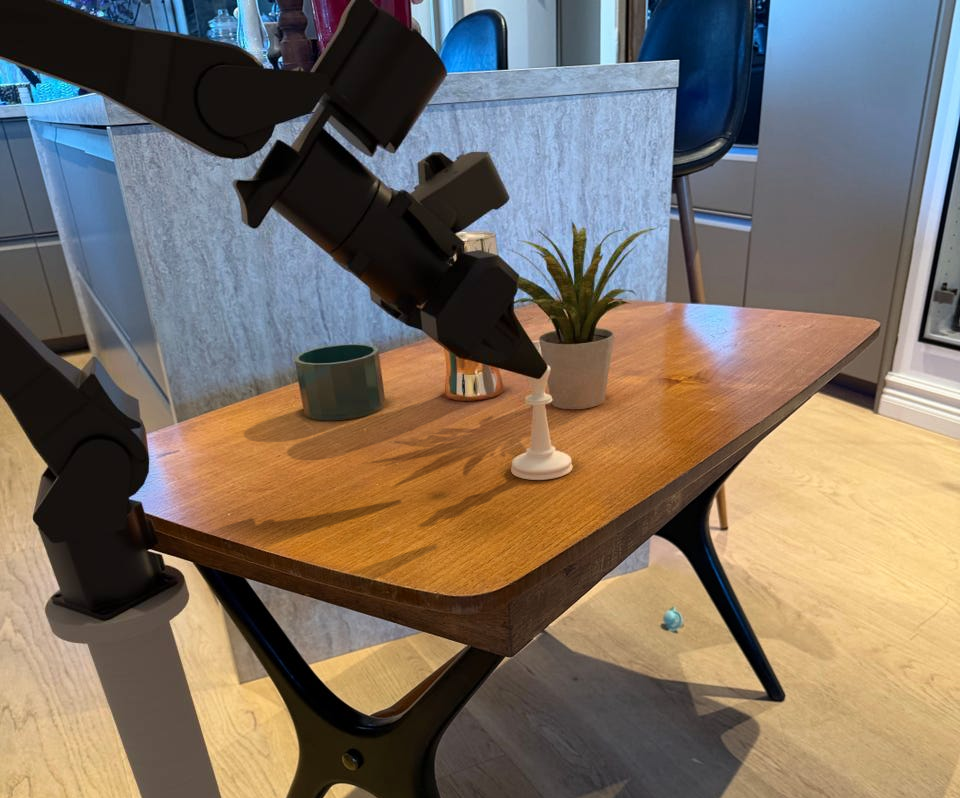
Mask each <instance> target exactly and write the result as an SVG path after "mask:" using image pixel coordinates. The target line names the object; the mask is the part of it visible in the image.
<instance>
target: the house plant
mask: <svg viewBox="0 0 960 798" xmlns="http://www.w3.org/2000/svg"><path fill="white" fill-rule="evenodd" d="M534 229H535V230H537V232H538V233H540V235H542V236H543V237H544V238H545V239H546V240H547V241H548V242H549V244H551V246H552V247H553V249H554V250H555V252H556V253H557V255H558V257H559V260H561V263H562V265H563V266H562V265H561V263H560V262H559V260H558V259H557V257H556V256H555V255H554V254H553V253H552V252H551V251H550V250H549V249H547V248H545V247H544V246H541V245H538V244H536V243H535V242H534V243H533V242H530V241H527V240H519V239H517V241H519V242H521V243H524V244H527V245H530V246H531V247H533V248H535V249H536V250H538V251H539V252H538V251H534V250H530V252H532V253H536V254H538V255H539V256H541V258H542V259H543V261H545V266H546V270H547V272H548V273H549V275H550V277H551V279H552V280H553V281H554V283H555V285H556V288H557V289H558V291H559V294H560V296H559V295H558V293H557V292H556V290H555V288H554V286H553V285H552V283H551V282H550V280H549V279H548V278H547V277H546V275H545V274H544V273H543V272H542V270H540V269H539V267H537V266H536V265H535V264H534V263H533V262H532V261H530V260H529V259H528V258H527V257H526V256H524V255H523V254H521V253H519V252H517V251H515V250H512V249H509V248H506V250H508V251H511V252H513V253H516V254H518V256H520V257H522V258H524V259H525V260H526V261H528V262H529V263H530V264H531V265H532V266H533V267H534V268H535V269H536V270H537V271H538V273H540V274H541V275H542V276H543V277H544V279H545V280H546V282H547V283H548V284H549V286H550V287H551V289H552V290H553V292H554V294H555V295H556V297H557V300H556V299H555V298H554V297H553V296H552V295H551V294H550V293H549V292H548V291H547V290H546V289H545V288H543V287H542V286H541V285H539V284H536V283H535V282H533V281H532V280H531V281H530V280H529V279H527V278H524V277H523V276H520V275H519V279H518V290H520V291H522V292H523V293H525V294H527V295H528V296H530V297H531V298H527V297H524V298H519V299H517V300H514V305H516V304H517V306H520V304H522V303H523V304H524V303H528V302H530V303H534V304H536V305H537V306H538V308H539V309H540V310H541V311H543V312H544V313H545V314H546V316H547V317H548V320H547V322H549V321H551V323H552V326H553V328H554V330H551V331H549V332H545V333H543V334H541V335H540V336H539V337H538V341H539V343H540V347H541V356H542V358H543V360H544V361H545V363H546V364H547V365H548V366H550V368H551V370H550V375H549V377H548V381H547V388H548V392H549V393H548V394H549V395H551V396H552V399H553V400H552V402H550V404H551V406H553V407H555V408H557V409H561V410H583V409H590V408H593V407H597V406H599V405H602V404H603V403H604V402H605V399H606V394H607V386H608V381H609V373H610V366H611V360H612V353H613V348H614V341H615V340H614V339H615V333H614V332H613V331H612V330H610V329H606V328H600V327H597V325H598V322H599V321H600V320H601V318H602V317H603V316H604V315H605V314H607V313H608V312H609V311H611V310H613V309H615V308H617V307H621V306H622V305H627V304H628V305H632V303H630V302H628V301H625V300H624V299H623V298H615V297H617V296H619V295H621V294H622V293H625V292H630V293H633V295H635V296H636V297H638V295H637V293H636V292H635V291H634V290H633V289H623V288H615V289H611V290H610V291H609V292H607V293H606V294H605V295H604V296H603V297H602V298H601V295H602V294H603V292H604V290H605V288H606V286H607V283H608V282H609V281H610V278H611V277H612V276H613V274H614V273H615V272H616V271H617V270H618V268H619V266H620V265H621V264H622V263H623V261H624V260H625V259H626V257H627V256H628V255H629V254H630V253H631V252H632V251H634V249H635V248H636V247H637V245H638V244H636V245H635V246H633V247H632V248H631V249H630V250H628V251H627V253H625V254H624V255H623V256H622V257H621V258H620V260H618V259H619V257H620V256H621V255H622V253H623V252H624V251H625V250H626V248H627V247H629V245H631V244H632V243H633V241H635V240H636V239H637V238H638V237H639V236H641V235H643V234H645V233H649V232H651V231H654V230H656V229H658V227H654V228H648V229H643V230H640V231H638V232H635V233H633V234H632V235H630V236H628V237H627V238H626V239H625V240H623V242H621V243H620V244H619V245H618V246H617V248H616V249H615V250H614V252H613V253H612V254H611V256H610V257H609V259H608V261H607V263H606V265H605V267H604V268H603V271H602V272H601V275H600V277H599V280H598V282H597V284H595V281H596V276H597V273H598V270H599V264H600V262H601V261H602V260H603V256H604V253H602V246H603V243H604V241H605V240H607V238H608V237H610V236H611V235H613V234H615V233H618V232H621V231H623V230H625V229H618V230H614V231H612V232H610V233H608V234H607V235H606V236H605V237H604V238H603V239H602V240H601V242H600V243H599V244H597V245H596V246H595V248H594V250H593V253H592V257H591V261H590V264H589V266H588V267H587V269H586V270H585V272H584V263H585V254H586V248H587V247H586V246H587V240H588V237H587V229H586V227H585V226H584V227H582V228H581V229H580V230H579V231H578V229H577V227H576V225H575V223H574V222H573V221H571V230H572V247H571V248H572V249H571V253H572V266H573V267H572V268H573V276H572V273H571V270H570V268H569V266H568V263H567V260H566V259H565V257H564V255H563V254H562V252H561V250H560V249H559V248H558V246H557V245H556V244H555V243H554V242H553V241H552V240H551V239H550V238H549V237H548V236H547V235H546V234H544V233H543V232H542V231H540V230H539V229H537V228H536V227H534ZM540 252H541V253H540ZM617 261H618V262H617ZM616 262H617V264H616ZM615 264H616V265H615ZM614 265H615V266H614ZM563 267H564V268H563ZM595 285H596V286H595ZM600 298H601V299H600Z"/></svg>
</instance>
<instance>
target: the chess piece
mask: <svg viewBox="0 0 960 798" xmlns="http://www.w3.org/2000/svg"><path fill="white" fill-rule="evenodd" d="M532 342H533V344H534V346H535V347H536V349H537V350H538V352H539V353H540V355H542V352H541V347H540V342H539V340H532ZM547 366H548V365H547ZM550 370H551V368H550V366H548V368H547V370H546V372H545V373H544V375H543V376H542V377H541V378H540V379H535V378H532V377H528V376H525V378H526V380H527V383H528V386H529V389H530V391H531V393H530V395H527V396H526V397H525V400H524V403H525V404H526V405H529V406H532V418H531V419H532V420H531V433H530V444H529V447H527V448H526V452H523V453H521V454H519V455H517V456H515V457H514V458H513V459H512V461H511V469H510V472H511V473H512V475H514V477H517V478H519V479H523V480H529V481H546V480H553V479H557V478H561V477H563V476H566V475H568V474H569V473H570V472H572V470H573V466H574V465H573V464H572V458H571V456H570V455H569V454H567V453H565V452H563V451H559V450H556V447H555V446H554V445H552V442H551V441H552V440H551V436H550V430H549V423H548V418H547V410H546V405H548V404H551V402H552V400H553V399H552V396H551V395H550V394H549V393H546V389H547V387H548V383H547V381H548V377H549V375H550Z"/></svg>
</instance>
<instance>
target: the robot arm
mask: <svg viewBox="0 0 960 798" xmlns="http://www.w3.org/2000/svg"><path fill="white" fill-rule="evenodd" d="M0 60H1V61H5V62H7V63H10V64H13V65H15V66H19V67H20V68H24V69H27V70H30V71H32V72H35V73H37V74H41V75H43V76H46V77H49V78H51V79H53V80H54V79H55V80H56V81H60V82H63V83H65V84H69V85H71V86H74V87H76V88H79V89H82V90H85V91H87V92H90V93H94V94H95V95H99V96H101V97H103V98H105V99H107V100H109V101H111V102H112V103H114V104H116V105H118V106H120V107H121V108H123V109H125V110H126V111H129V112H131V114H134V115H135V116H137V117H138V118H141V119H142V120H144V121H146V122H148V123H149V124H151V125H153V126H155V127H156V128H158V129H160V130H161V131H163V132H165V133H167V134H168V135H171V137H174V138H176V139H178V140H180V141H181V142H183V143H185V144H187V145H189V146H190V147H192V148H194V149H196V150H198V151H199V152H201V153H203V154H206V155H208V156H211V157H217V158H221V159H230V160H240V159H246V158H248V157H251V156H253V155H254V154H255V153H257V152H259V151H261V150H262V149H263V148H264V147H265V146H266V144H267V143H268V142H269V141H270V139H271V138H272V137H273V135H274V131H275V128H276V126H277V125H280V124H283V123H286V122H289V121H293V120H294V119H295V120H296V119H298V118H301V117H304V116H307V115H310V114H311V113H312V114H311V116H310V118H309V119H308V121H307V122H306V123H305V126H304V127H303V129H302V130H301V132H300V133H299V134H298V135H297V137H296V138H295V140H294V141H293V143H292V144H291V145H289V144H288V143H286V142H284V141H282V140H281V139H276V140H275V141H274V143H273V145H272V146H271V148H270V150H269V151H268V153H267V154H266V155H265V156H264V159H263V160H262V161H261V163H260V165H259V167H258V168H257V170H256V171H255V173H254V174H253V176H252V177H251V178H247V179H240V178H239V179H238V178H236V179H234V180H233V181H232V188H233V189H234V191H235V193H236V195H237V198H238V201H239V208H240V220H241V222H242V223H243V224H244V225H246V226H247V227H249V228H251V229H254V230H256V229H258V228H259V227H260V226H261V224H262V223H263V221H264V220H265V218H266V217H267V215H268V214H269V212H270V211H271V209H273V210H274V211H275V212H276V213H278V214H279V215H280V216H281V217H282V218H283V219H285V220H286V221H287V222H288V223H290V224H291V225H292V226H294V227H295V228H296V229H297V230H298V231H300V233H302V234H304V236H306V238H308V239H309V240H310V241H312V242H313V243H314V244H315V245H317V246H318V247H319V248H320V249H321V250H323V251H324V252H325V253H326V254H328V255H329V256H330V257H331V258H332V261H333V262H335V263H336V264H337V265H338V266H340V267H341V268H342V269H343V270H345V271H347V272H348V273H351V275H353V276H355V277H356V278H357V279H358V280H359V281H360V282H362V283H363V284H364V285H365V286H366V287H368V291H369V298H370V301H372V302H373V304H375V305H376V306H378V307H379V308H380V309H382V311H384V312H385V313H386V314H387V315H389V316H390V317H392V318H394V319H396V320H397V321H399V322H400V323H402V324H404V325H406V326H407V327H410V328H413V329H415V330H419V331H421V332H424V334H425V335H426V336H427V337H429V338H430V339H431V340H432V341H434V342H435V343H437V344H438V345H439V346H440V347H442V348H443V350H444V349H446V350H447V351H449V352H450V353H452V354H454V355H455V356H457V357H458V358H461V359H464V360H470V361H474V362H478V363H481V364H485V365H489V366H493V367H496V368H499V370H504V371H508V372H511V373H514V374H518V375H522V376H525V377H526V376H528V377H532V378H535V379H540V378H541V377H542V376H543V375H544V373H545V372H546V370H547V368H548V366H547V364H546V363H545V361H544V360H543V357H542V354H540V353H539V352H538V350H537V349H536V347H535V346H534V344H533V340H531V337H530V336H529V335H528V333H527V332H526V330H525V329H524V327H523V326H522V323H521V322H520V320H519V319H518V317H517V315H516V313H515V304H514V302H515V297H516V295H517V293H518V291H519V288H518V279H519V276H520V274H519V273H518V272H517V271H516V270H515V269H514V268H513V267H511V266H510V265H509V263H507V262H506V260H504V259H503V258H502V257H501V256H500V255H499V254H498V255H495V254H492V253H488V252H485V251H482V250H477V251H470V252H462V253H460V255H459V256H458V258H457V259H456V261H454V258H453V256H454V255H455V254H456V252H457V251H458V249H459V248H460V247H461V245H462V244H463V241H462V240H461V239H460V238H459V237H458V236H457V235H456V233H458V232H463V231H464V230H465V229H467V228H468V227H470V226H471V225H473V224H474V223H475V222H476V221H478V220H480V219H481V218H482V217H484V216H485V215H486V214H488V213H490V212H491V211H492V210H497V211H498V210H499V209H501V208H502V207H503V206H505V205H506V204H507V203H508V202H509V200H510V198H511V197H510V194H509V193H508V190H507V188H506V186H505V183H504V182H503V180H502V178H501V176H500V174H499V170H498V169H497V167H496V165H495V164H494V163H495V162H494V161H493V159H492V157H491V155H490V152H488V151H469V152H467V153H465V154H459V155H458V156H456V158H455V160H452V159H451V158H450V157H448V156H447V155H446V154H444V153H443V152H441V151H432V152H431V153H430V154H428V155H427V156H425V157H424V158H422V159H421V160H419V161H418V162H417V163H416V164H417V179H418V184H417V185H415V186H414V187H413V191H412V192H409V191H407V190H405V189H400V190H396V189H394V188H393V187H389V186H388V185H386V183H384V182H383V181H382V180H381V179H380V178H379V177H377V176H376V175H375V174H374V173H373V172H372V170H370V169H369V168H368V167H367V166H366V165H365V164H363V163H362V162H361V161H360V160H359V159H358V158H357V157H356V156H354V154H352V153H351V152H350V150H348V149H347V148H346V147H345V146H344V145H343V144H342V143H340V142H339V141H338V140H337V139H336V138H335V137H334V136H333V135H332V134H331V133H330V132H328V130H326V129H325V126H326V124H327V123H328V124H329V125H330V126H331V127H332V128H333V129H334V130H335V131H336V132H337V133H338V134H339V135H340V136H341V137H342V138H343V139H344V140H345V141H347V142H348V143H349V144H351V145H352V146H353V147H354V148H355V149H357V150H358V151H359V152H361V153H363V154H364V155H366V156H367V157H370V158H373V157H374V156H375V154H376V152H377V151H378V147H379V148H381V149H382V150H384V151H386V152H388V153H390V154H396V152H397V151H398V150H399V148H400V147H401V145H402V144H403V142H404V140H405V139H406V137H407V136H408V134H409V133H410V132H411V130H412V129H413V127H414V125H415V124H416V123H417V121H418V120H419V118H420V117H421V115H422V113H423V112H424V111H425V109H426V107H427V106H428V105H429V103H430V102H431V100H432V99H433V97H434V95H435V94H436V93H437V91H438V90H439V88H440V87H441V85H442V84H443V82H444V80H445V79H446V78H447V76H448V70H447V67H446V65H445V63H444V62H443V59H442V58H441V56H440V55H439V54H438V52H437V51H436V50H435V48H434V47H433V46H432V45H431V44H430V43H429V41H427V39H426V38H425V37H424V36H423V35H422V34H421V33H420V32H419V31H418V29H416V28H414V27H413V28H410V27H409V26H407V25H406V24H405V23H404V22H402V20H400V19H399V18H397V17H396V16H395V15H393V14H392V13H390V12H388V11H387V10H385V9H384V8H381V7H378V6H377V5H376V4H375V3H374V1H373V0H350V2H349V3H348V5H347V6H346V7H345V9H344V11H343V13H342V15H341V17H340V20H339V23H338V26H337V28H336V30H335V32H334V34H333V35H332V36H331V38H330V40H329V41H328V43H327V44H326V46H325V47H324V49H323V51H322V53H321V54H320V55H319V57H318V59H317V60H316V62H315V63H314V65H313V67H312V68H311V70H309V71H306V70H304V68H302V67H301V66H298V67H296V68H293V69H280V68H269V67H265V66H264V64H263V63H262V62H261V60H259V59H258V58H257V57H256V56H255V55H253V54H252V53H250V52H249V51H247V50H245V49H244V48H242V47H241V46H239V45H236V44H233V43H230V42H225V41H220V40H216V39H210V38H205V37H202V36H196V35H191V34H185V33H182V32H181V33H180V32H175V31H169V30H161V29H156V28H155V29H154V28H148V27H143V26H142V27H141V26H135V25H130V24H124V23H120V22H115V21H111V20H108V19H106V18H103V17H100V16H98V15H95V14H93V13H90V12H88V11H85V10H82V9H81V8H78V7H75V6H73V5H71V4H68V3H66V2H63V1H60V0H0ZM318 103H319V104H318ZM0 397H2V399H3V401H4V402H5V403H6V405H7V406H8V408H9V409H10V411H11V413H12V414H13V416H14V418H15V419H16V421H17V422H18V424H19V426H20V428H21V429H22V431H23V432H24V434H25V435H26V437H27V439H28V441H29V442H30V444H31V446H32V447H33V449H34V450H35V452H36V453H37V454H38V455H39V456H40V458H41V459H42V460H43V462H44V463H45V464H46V465H47V467H46V468H45V469H44V471H43V473H42V474H41V476H40V480H39V485H38V489H37V495H36V500H35V503H34V509H33V514H32V520H33V523H35V525H36V526H37V531H38V533H39V535H40V536H39V537H40V539H41V541H42V544H43V546H44V549H45V552H46V555H47V558H48V561H49V563H50V565H51V569H52V572H53V575H54V577H55V580H56V582H57V586H58V588H59V590H60V591H61V592H58V593H56V592H55V593H56V594H55V593H53V594H54V595H53V594H52V595H53V596H52V595H51V596H52V597H51V596H50V598H51V600H52V602H53V604H56V605H58V606H61V607H64V608H67V609H70V610H73V611H75V612H78V613H81V614H84V615H87V616H90V617H93V618H95V619H98V620H101V621H107V620H110V619H113V618H114V617H116V616H118V615H120V614H122V613H124V612H126V611H128V610H129V609H131V608H133V607H135V606H137V605H139V604H141V603H143V602H145V601H146V600H148V599H150V598H152V597H154V596H156V595H158V594H160V593H161V592H163V591H165V590H167V589H169V588H171V587H173V586H175V585H176V584H177V583H178V581H177V578H176V576H173V575H170V574H166V573H163V572H162V571H164V570H165V565H166V563H165V561H164V557H163V554H162V553H157V552H153V551H149V550H152V549H153V548H155V546H156V545H157V544H159V539H158V535H157V531H156V529H155V528H156V527H155V525H154V521H153V519H152V518H150V517H147V516H146V512H145V508H144V505H143V502H142V501H139V500H134V499H130V498H131V497H133V496H135V495H136V494H137V493H138V492H139V491H140V489H142V487H144V485H145V483H146V480H147V478H148V475H149V473H150V454H149V453H150V452H149V446H148V437H147V430H146V426H145V424H144V421H143V419H142V418H141V410H140V409H141V408H140V400H139V399H138V398H136V397H135V396H132V395H130V394H129V393H127V392H125V391H124V389H122V388H121V387H120V386H118V384H117V383H116V382H115V381H114V379H113V378H112V376H111V375H110V374H109V372H108V371H107V369H106V368H105V366H104V365H103V364H102V362H101V361H100V360H99V358H98V357H97V356H92V357H90V359H89V360H88V361H87V363H85V365H84V366H83V368H81V369H80V368H78V367H77V366H76V365H74V364H72V363H71V362H69V361H68V360H66V359H64V358H63V357H61V356H60V355H58V354H57V353H55V352H54V351H53V350H52V349H50V348H48V346H47V345H45V344H44V342H42V340H41V339H40V338H39V337H38V336H37V335H36V334H35V333H34V331H32V330H31V329H30V328H29V327H28V326H27V325H26V324H25V323H24V322H23V320H21V318H20V317H19V316H18V315H17V314H16V313H15V312H14V311H13V310H12V309H11V308H10V307H9V306H8V305H7V304H6V303H5V301H3V300H2V299H1V298H0Z"/></svg>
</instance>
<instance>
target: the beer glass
mask: <svg viewBox="0 0 960 798" xmlns="http://www.w3.org/2000/svg"><path fill="white" fill-rule="evenodd" d="M456 235H457V236H458V237H459V238H460V239H461V240H462V241H463V244H462V245H461V247H460V248H459V249H458V251H457V252H456V254H455V255H454V256H453V258H454V261H456V259H457V258H458V256H459V255H460V253H462V252H470V251H477V250H482V251H485V252H488V253H492V254H495V255H499V249H498V243H497V233H496V231H495V232H494V231H490V230H471V231H470V230H468V231H460V232H458V233H456ZM443 350H444V358H445V371H446V372H445V381H444V382H445V383H444V395H445V397H446V398H448V399H449V400H452V401H458V402H474V401H475V402H477V401H483V400H488V399H492V398H495V397H498V396H499V395H501V394H503V392H504V383H503V379H502V377H501V376H502V375H501V371H500V368H496V367H493V366H489V365H485V364H481V363H478V362H474V361H470V360H464V359H461V358H458V357H457V356H455V355H454V354H452V353H450V352H449V351H447V350H446V349H444V348H443Z"/></svg>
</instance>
